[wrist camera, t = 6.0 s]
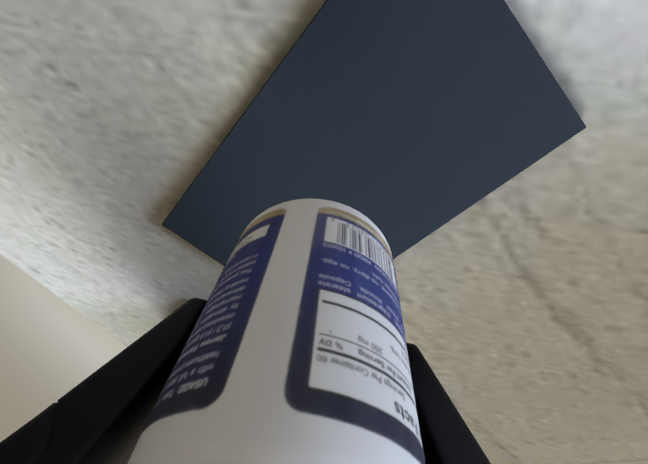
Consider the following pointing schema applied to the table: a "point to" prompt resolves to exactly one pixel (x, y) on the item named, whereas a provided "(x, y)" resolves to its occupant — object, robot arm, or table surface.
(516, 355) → the table surface
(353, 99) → the rubber mat
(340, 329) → the pill bottle
